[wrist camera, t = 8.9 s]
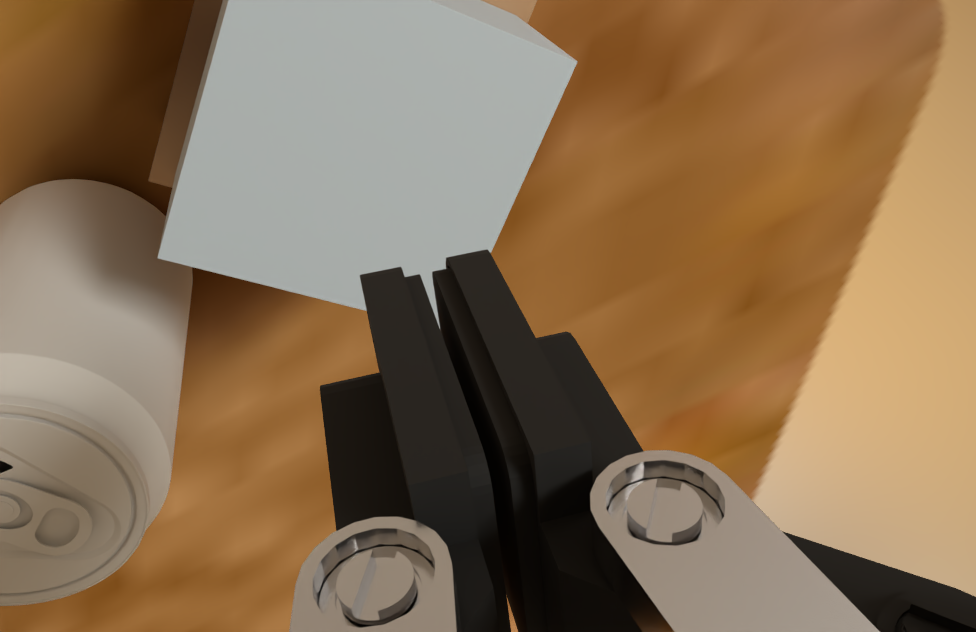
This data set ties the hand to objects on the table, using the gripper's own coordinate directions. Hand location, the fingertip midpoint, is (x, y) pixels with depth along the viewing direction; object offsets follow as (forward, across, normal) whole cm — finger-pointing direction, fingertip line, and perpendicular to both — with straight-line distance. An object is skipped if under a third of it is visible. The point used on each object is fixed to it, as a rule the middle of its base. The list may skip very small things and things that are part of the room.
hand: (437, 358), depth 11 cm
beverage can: (+18, +9, +6) cm, 21 cm away
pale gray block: (+13, 0, 0) cm, 13 cm away
